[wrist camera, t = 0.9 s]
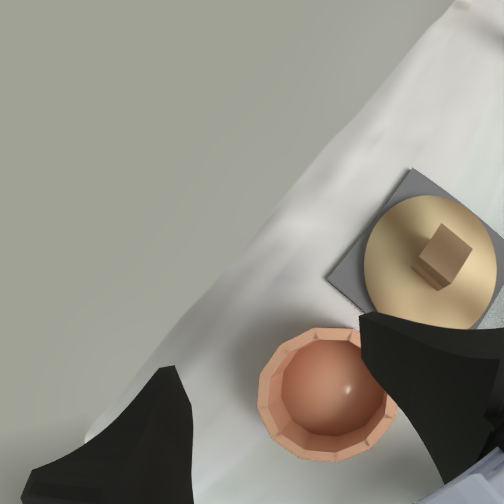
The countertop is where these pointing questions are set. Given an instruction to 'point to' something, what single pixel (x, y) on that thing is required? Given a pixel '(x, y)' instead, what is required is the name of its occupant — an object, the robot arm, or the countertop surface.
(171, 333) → the countertop surface
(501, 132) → the countertop surface
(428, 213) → the oak lid
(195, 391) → the countertop surface
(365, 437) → the terracotta bowl
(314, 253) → the countertop surface
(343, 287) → the charcoal mat
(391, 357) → the robot arm
